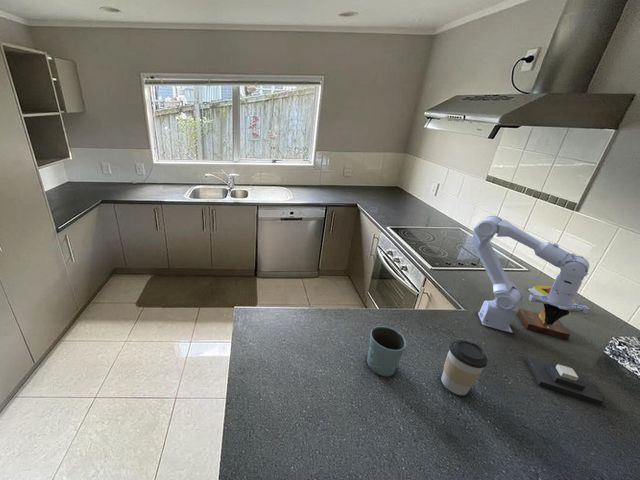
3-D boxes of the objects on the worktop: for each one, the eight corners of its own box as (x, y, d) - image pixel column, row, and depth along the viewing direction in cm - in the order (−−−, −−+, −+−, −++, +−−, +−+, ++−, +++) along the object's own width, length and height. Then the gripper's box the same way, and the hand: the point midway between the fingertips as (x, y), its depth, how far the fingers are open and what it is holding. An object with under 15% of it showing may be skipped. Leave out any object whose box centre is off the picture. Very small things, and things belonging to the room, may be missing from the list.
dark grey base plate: (538, 385, 86) (543, 377, 85) (526, 361, 95) (530, 353, 93) (600, 405, 81) (607, 397, 80) (581, 378, 89) (587, 370, 88)
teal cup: (402, 367, 91) (411, 339, 86) (388, 385, 85) (397, 356, 80) (373, 347, 98) (380, 321, 93) (358, 363, 92) (364, 335, 87)
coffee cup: (455, 402, 80) (473, 364, 75) (430, 375, 88) (444, 339, 83) (479, 394, 83) (498, 357, 77) (452, 369, 91) (467, 333, 85)
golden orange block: (548, 325, 108) (553, 317, 106) (543, 324, 108) (547, 316, 107) (543, 317, 112) (547, 310, 110) (538, 316, 112) (542, 308, 111)
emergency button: (550, 282, 133) (584, 302, 119) (546, 289, 134) (579, 310, 120) (530, 281, 133) (562, 301, 119) (526, 289, 134) (557, 310, 120)
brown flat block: (526, 328, 109) (529, 323, 108) (517, 313, 118) (519, 308, 117) (567, 339, 105) (570, 334, 104) (554, 322, 113) (557, 317, 112)
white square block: (560, 376, 86) (563, 372, 85) (554, 367, 89) (557, 363, 88) (576, 381, 84) (578, 377, 84) (569, 372, 88) (572, 368, 87)
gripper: (540, 291, 94) (526, 323, 99) (601, 302, 88) (582, 336, 93) (532, 280, 100) (518, 311, 104) (588, 291, 94) (571, 323, 99)
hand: (548, 322), depth 99 cm, fingers closed
